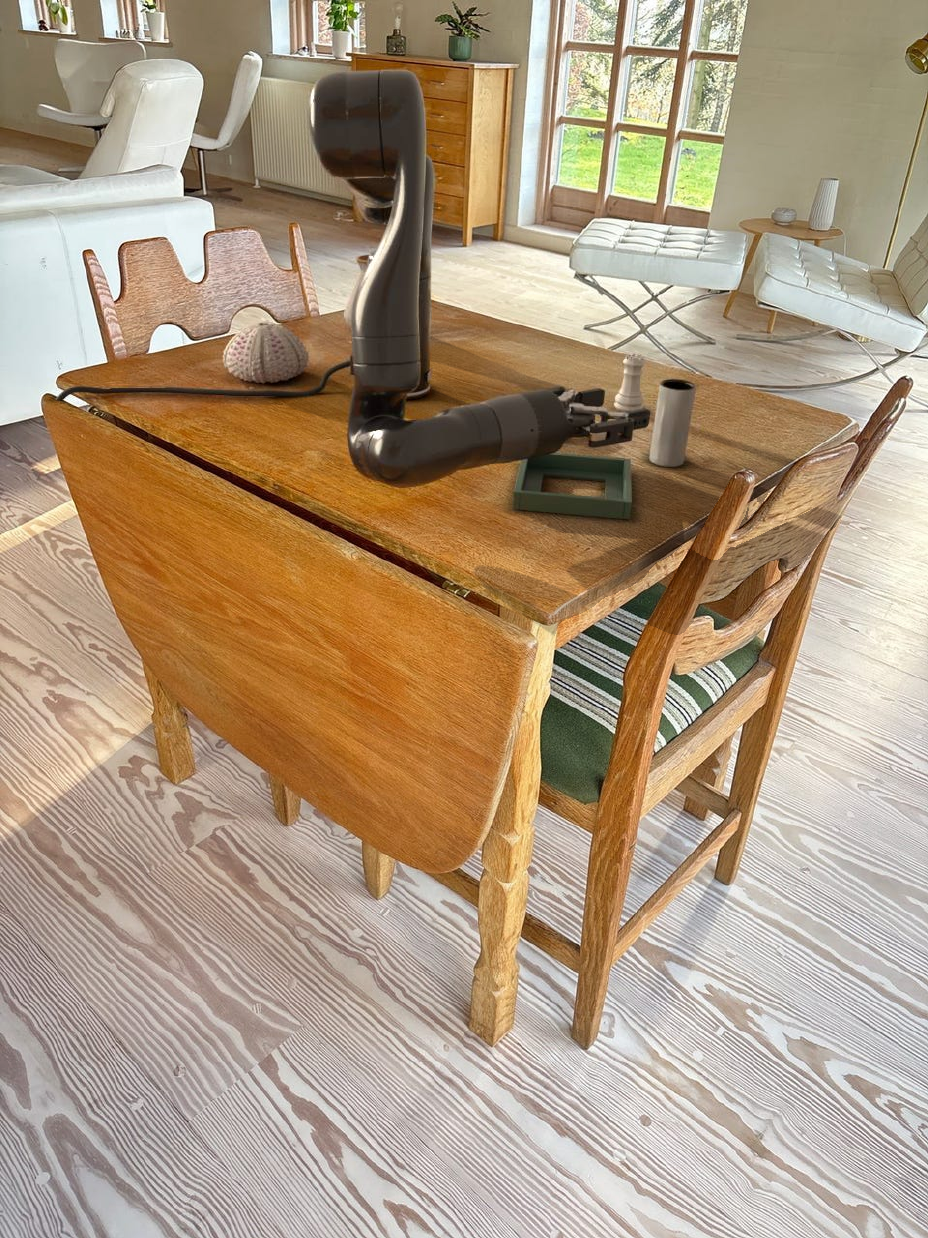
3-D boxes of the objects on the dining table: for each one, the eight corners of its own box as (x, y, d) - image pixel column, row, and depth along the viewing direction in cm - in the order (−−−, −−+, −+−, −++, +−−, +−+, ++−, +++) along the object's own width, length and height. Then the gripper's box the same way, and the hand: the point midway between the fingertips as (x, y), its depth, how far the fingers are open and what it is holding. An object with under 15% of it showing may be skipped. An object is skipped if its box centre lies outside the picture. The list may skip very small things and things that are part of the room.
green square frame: (512, 509, 111) (513, 492, 110) (522, 465, 123) (523, 449, 122) (629, 519, 110) (632, 502, 109) (628, 474, 122) (630, 458, 120)
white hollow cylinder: (645, 454, 128) (656, 378, 123) (678, 454, 128) (690, 378, 123) (653, 467, 124) (665, 389, 119) (687, 467, 124) (700, 389, 119)
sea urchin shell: (241, 392, 144) (236, 338, 140) (213, 368, 154) (208, 317, 150) (323, 381, 150) (320, 329, 146) (290, 358, 160) (287, 309, 156)
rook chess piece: (642, 414, 142) (649, 361, 137) (612, 411, 142) (618, 358, 138) (643, 405, 145) (650, 352, 141) (614, 402, 146) (620, 350, 142)
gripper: (557, 414, 103) (668, 393, 111) (484, 378, 113) (591, 361, 121) (551, 479, 107) (659, 454, 115) (481, 438, 117) (585, 418, 125)
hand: (624, 406), depth 118 cm, fingers open, 8 cm apart
